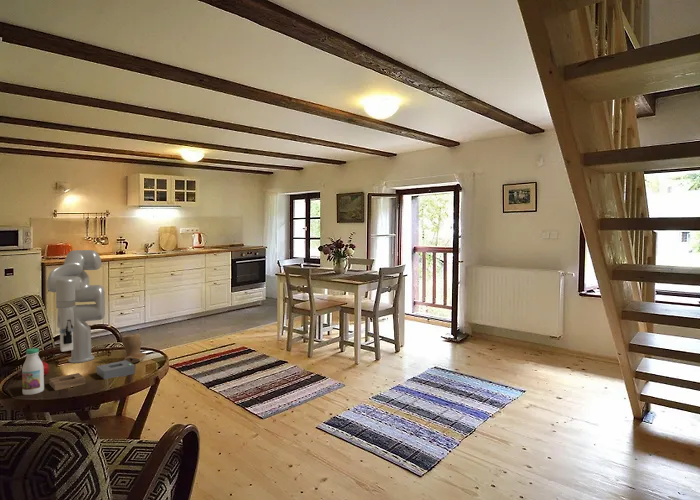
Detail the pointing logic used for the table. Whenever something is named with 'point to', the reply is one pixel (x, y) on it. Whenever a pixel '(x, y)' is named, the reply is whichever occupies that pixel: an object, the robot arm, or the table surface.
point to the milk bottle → (32, 373)
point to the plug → (63, 346)
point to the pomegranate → (45, 367)
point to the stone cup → (133, 347)
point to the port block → (116, 369)
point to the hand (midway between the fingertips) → (66, 342)
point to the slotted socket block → (67, 381)
